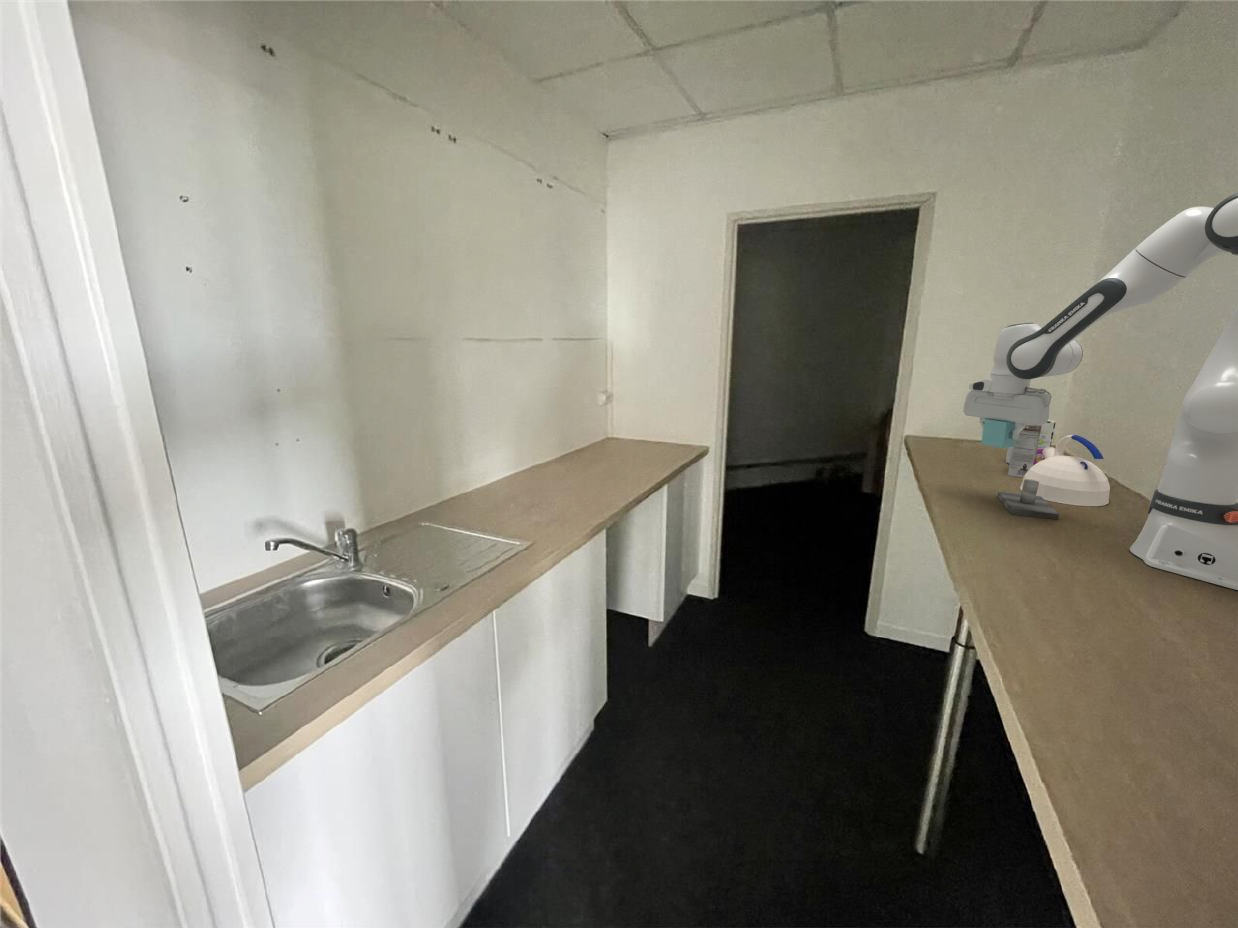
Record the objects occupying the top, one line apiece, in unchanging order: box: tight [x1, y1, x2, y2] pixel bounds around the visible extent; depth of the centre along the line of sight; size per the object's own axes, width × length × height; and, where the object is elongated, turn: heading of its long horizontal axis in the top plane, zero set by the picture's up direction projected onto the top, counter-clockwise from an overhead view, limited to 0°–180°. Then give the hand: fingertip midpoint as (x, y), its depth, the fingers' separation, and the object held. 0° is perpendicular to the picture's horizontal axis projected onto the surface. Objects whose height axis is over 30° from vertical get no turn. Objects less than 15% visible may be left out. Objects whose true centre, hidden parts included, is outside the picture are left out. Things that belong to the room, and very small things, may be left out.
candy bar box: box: [1005, 419, 1057, 466], centre depth 184 cm, size 11×5×16 cm, turn 73°
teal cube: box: [980, 419, 1017, 449], centre depth 143 cm, size 6×6×7 cm
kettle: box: [1019, 434, 1111, 507], centre depth 151 cm, size 20×21×18 cm
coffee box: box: [1007, 425, 1041, 478], centre depth 172 cm, size 9×6×16 cm
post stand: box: [996, 479, 1060, 521], centre depth 141 cm, size 16×10×8 cm, turn 156°
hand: (999, 436), depth 143 cm, fingers closed on teal cube, 6 cm apart
